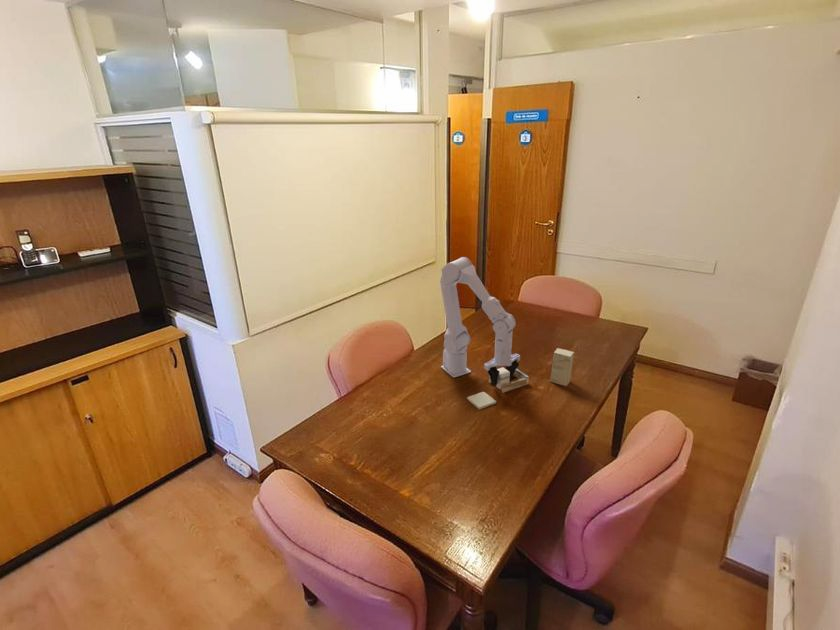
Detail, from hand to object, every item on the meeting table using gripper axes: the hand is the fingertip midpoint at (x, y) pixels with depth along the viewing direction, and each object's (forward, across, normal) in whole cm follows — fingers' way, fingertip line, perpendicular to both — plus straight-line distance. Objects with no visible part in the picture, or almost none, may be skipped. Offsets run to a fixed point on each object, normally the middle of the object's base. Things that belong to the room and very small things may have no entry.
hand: (501, 382), depth 159 cm
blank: (+2, 0, 0) cm, 2 cm away
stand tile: (+1, -12, -4) cm, 13 cm away
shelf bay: (+1, +3, 0) cm, 4 cm away
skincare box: (+2, +20, -9) cm, 22 cm away
